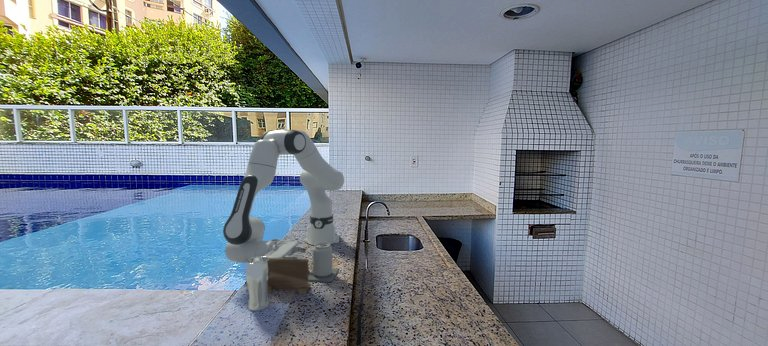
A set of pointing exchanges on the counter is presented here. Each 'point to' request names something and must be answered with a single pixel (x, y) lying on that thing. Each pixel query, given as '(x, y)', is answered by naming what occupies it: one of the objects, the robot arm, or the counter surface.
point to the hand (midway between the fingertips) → (301, 254)
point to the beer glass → (258, 282)
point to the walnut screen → (288, 275)
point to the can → (322, 259)
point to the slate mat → (323, 279)
